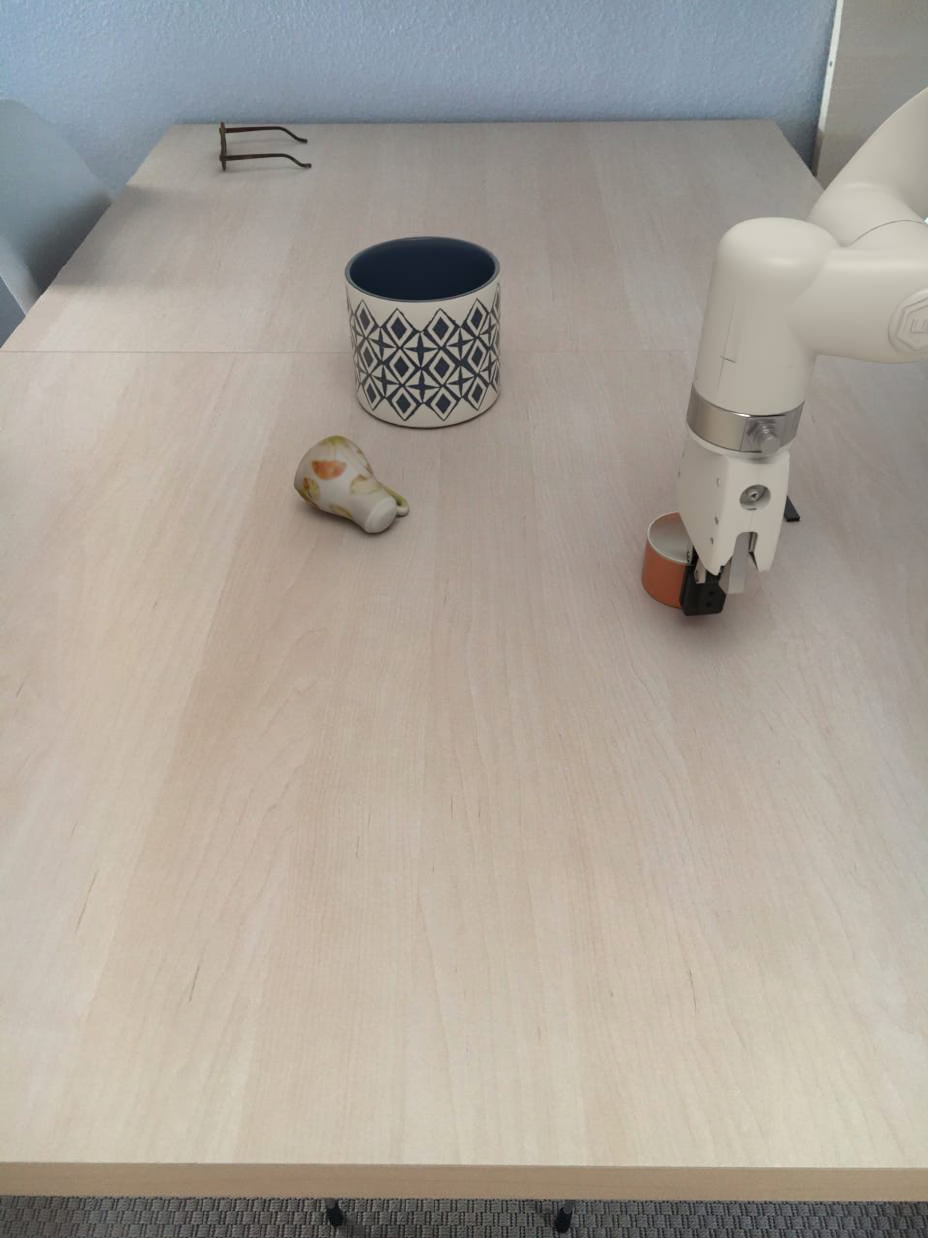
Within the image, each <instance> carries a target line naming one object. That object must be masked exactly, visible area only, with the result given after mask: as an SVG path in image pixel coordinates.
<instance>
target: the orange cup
mask: <svg viewBox="0 0 928 1238" xmlns="http://www.w3.org/2000/svg"><path fill="white" fill-rule="evenodd" d="M645 542H646V543H645V549H644V556H643V563H642V571H641V583H642V586H643V588H644V590H645V591H646V593H647V594H649V596H651V597H652V598H653V599H655V600H656V601H658V602H660V603H662V604H664V605H667V606H670V607H674V608H679V609H682V608H683V607H681V605H680V603H679V596H680V591H681V586H682V581H683V576H684V571H685V566H692V564H688V563H687V560H686V550H687V542H688V532H687V530H686V528H685V525H684V523H683V521H682V518H681V516H680V514H679V511H678V510H677V511H675V510H674V511H670V512H667V513H663V514H661V515H659V516H657V517H656V518H655V519H653V520H652V521H651V522H650V524H649V526H648V527H647V531H646V541H645Z"/></svg>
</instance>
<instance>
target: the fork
mask: <svg viewBox="0 0 928 1238" xmlns="http://www.w3.org/2000/svg"><path fill="white" fill-rule="evenodd" d="M783 518H784V519H785V521H786V522H799V521H801V516H800V515H799V513H798V511H797V510H796V508H795V506H794V504H793V502H792V501H791V499H790V497H789V496H788V495H787V497H786V504H785V509H784V515H783Z"/></svg>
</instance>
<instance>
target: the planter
mask: <svg viewBox="0 0 928 1238" xmlns="http://www.w3.org/2000/svg"><path fill="white" fill-rule="evenodd" d="M343 275H344V285H345V296H346V305H347V307H346V308H347V316H348V324H349V325H348V326H349V335H350V343H351V352H352V353H351V354H352V363H353V371H354V381H355V390H356V396H357V399H358V402H359V403H360V405H361V406H362V407H363V408H364V410H365V411H367V412H368V413H369V414H371V415H372V416H374V417H376V418H378V419H380V420H382V421H385V422H387V423H390V424H394V425H397V426H403V427H408V428H424V429H425V428H426V429H428V428H440V427H441V428H442V427H446V426H448V427H449V426H452V425H456V424H460V423H463V422H466V421H469V420H471V419H473V418H475V417H477V416H479V415H480V414H482V413H484V412H485V411H487V410H488V409H489V408H490V407H491V406H492V405H493V404H494V403H495V401H496V400H497V398H498V396H499V394H500V389H501V297H502V296H501V295H502V293H501V289H502V288H501V287H502V286H501V263H500V260H499V259H498V257H497V256H496V255H495V254H494V253H493V252H492V251H490V250H489V249H488V248H487V247H485V246H482V245H480V244H477V243H474V242H472V241H469V240H464V239H460V238H454V237H448V236H439V235H437V236H433V235H432V236H431V235H424V236H423V235H422V236H409V237H400V238H395V239H391V240H386V241H381V242H379V243H376V244H372V245H371V246H368V247H366V248H364V249H362V250H360V251H359V252H357V253H356V254H355V255H354V256H352V257H351V258H350V259H349V260H348V262H347V263H346V266H345V268H344V272H343Z"/></svg>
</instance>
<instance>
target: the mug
mask: <svg viewBox="0 0 928 1238" xmlns="http://www.w3.org/2000/svg"><path fill="white" fill-rule="evenodd" d="M293 487H294V489H295V491H296V492H297V493H298V494H299V495H300V497H301V498H302V499H303V500H304V501H305V502H306V503H308V505H310V506H312V507H313V508H315V509H317V510H320V511H323V512H326V513H329V514H333V515H336V516H340V517H344V518H347V519H349V520H350V521H353V522H354V523H355V524H357V525H358V526H359V527H360V528H362V529H363V530H364V531H365V532H366V533H368V534H369V533H370V534H373V533H381V532H383V531H385V530H386V529H387V528H388V527H390V525H391V524H392V523H393V522H394V520H395V518H396V516H397V515H398V516H401V517H402V516H406V515H407V514H408V513H409V511H410V504H409V502H408V501H407V500H406V499H405V498H404V497H403V496H402V495H400V494H398V493H396V492H395V491H394V490H392V489H390V488H389V487H387V486H386V485H384V484H383V483H382V482H380V480H378V479H377V477H376V475H375V473H374V470H373V469H372V466H371V464H370V462H369V460H368V458H367V456H366V455H365V453H364V451H363V450H362V449H361V447H359V446H358V445H357V444H356V443H355V442H354V441H352V440H350V439H349V438H347V437H345V436H342V435H331V436H328V437H325V438H323V439H322V440H320V441H318V442H317V443H315V444H314V445H313V446H311V447H310V448H309V449H308V450H307V452H305V454H304V455H303V456H302V458H301V460H300V462H299V464H298V467H297V469H296V471H295V475H294V481H293Z"/></svg>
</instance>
